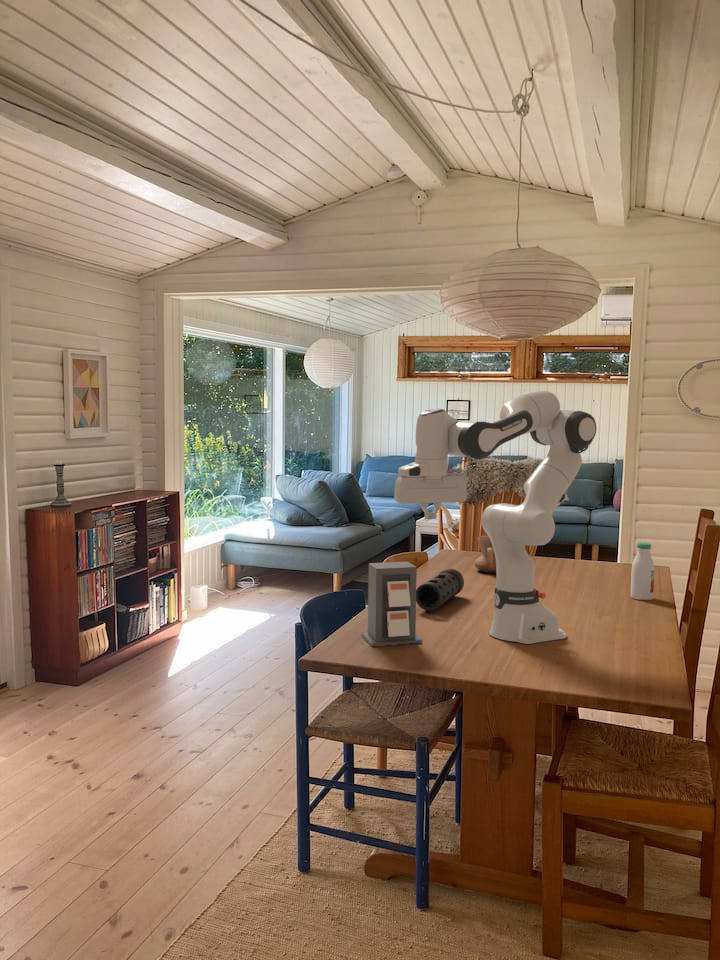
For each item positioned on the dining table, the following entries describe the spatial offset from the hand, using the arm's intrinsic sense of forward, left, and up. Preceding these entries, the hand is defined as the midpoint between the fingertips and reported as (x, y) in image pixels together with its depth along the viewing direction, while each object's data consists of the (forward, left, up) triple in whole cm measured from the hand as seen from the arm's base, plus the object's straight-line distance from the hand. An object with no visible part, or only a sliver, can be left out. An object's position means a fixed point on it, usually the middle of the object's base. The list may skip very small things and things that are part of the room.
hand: (430, 519), depth 213 cm
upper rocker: (+7, -4, -25) cm, 26 cm away
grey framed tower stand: (+7, -12, -37) cm, 39 cm away
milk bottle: (-96, -40, -37) cm, 110 cm away
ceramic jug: (-62, -94, -37) cm, 119 cm away
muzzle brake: (-22, -48, -37) cm, 65 cm away
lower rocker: (+7, -5, -34) cm, 35 cm away
